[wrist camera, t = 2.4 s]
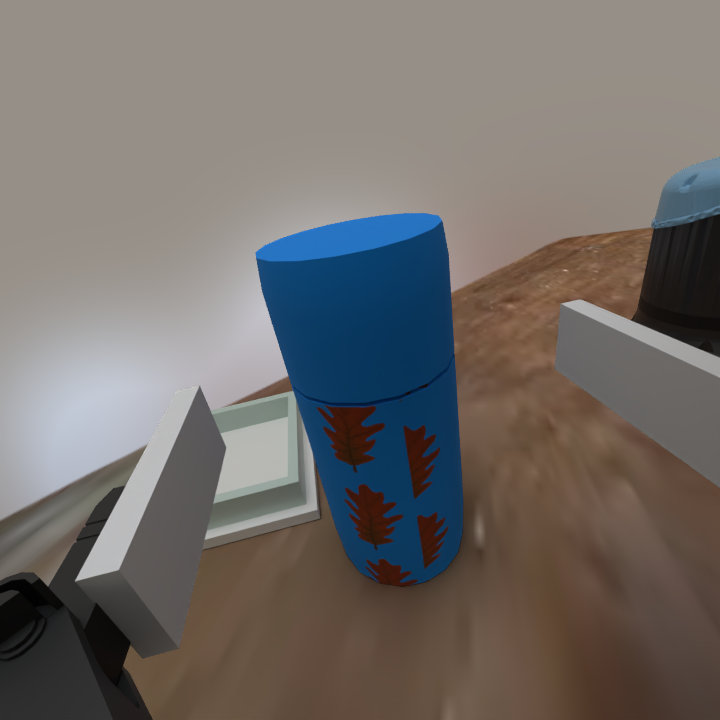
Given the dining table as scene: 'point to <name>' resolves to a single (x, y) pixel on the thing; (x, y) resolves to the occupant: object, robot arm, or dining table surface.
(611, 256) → the dining table surface
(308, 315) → the leaf-print tea canister
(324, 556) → the dining table surface
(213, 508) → the holder
